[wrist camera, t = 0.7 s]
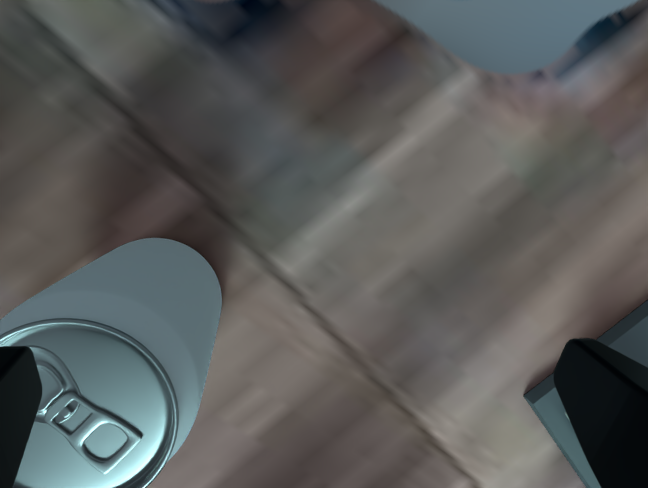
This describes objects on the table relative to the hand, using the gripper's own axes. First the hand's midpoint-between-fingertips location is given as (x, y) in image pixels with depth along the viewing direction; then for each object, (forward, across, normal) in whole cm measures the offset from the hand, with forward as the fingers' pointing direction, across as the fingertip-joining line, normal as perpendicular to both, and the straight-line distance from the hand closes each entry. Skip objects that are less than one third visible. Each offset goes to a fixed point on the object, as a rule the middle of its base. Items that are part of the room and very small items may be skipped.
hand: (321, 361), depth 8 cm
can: (+15, +6, +9) cm, 18 cm away
